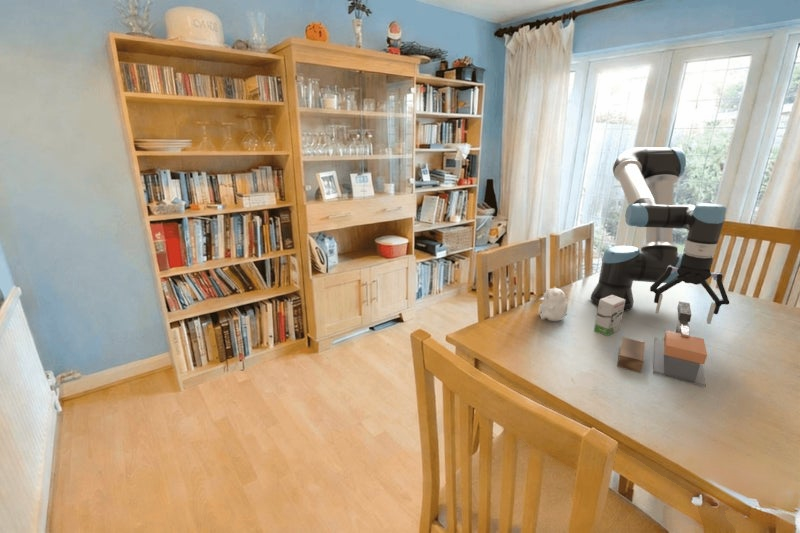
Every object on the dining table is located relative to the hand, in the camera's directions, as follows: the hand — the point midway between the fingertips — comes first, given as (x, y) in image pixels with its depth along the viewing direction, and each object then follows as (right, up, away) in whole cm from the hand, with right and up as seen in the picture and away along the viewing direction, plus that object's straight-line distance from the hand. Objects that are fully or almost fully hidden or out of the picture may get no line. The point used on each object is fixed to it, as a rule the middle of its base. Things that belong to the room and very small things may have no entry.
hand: (681, 317), depth 122 cm
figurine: (-35, -3, +18) cm, 39 cm away
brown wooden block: (-22, -12, -8) cm, 26 cm away
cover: (-11, -8, -15) cm, 20 cm away
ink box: (-19, -6, +9) cm, 22 cm away
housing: (-8, -12, -8) cm, 17 cm away
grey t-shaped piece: (-4, -9, -3) cm, 10 cm away
